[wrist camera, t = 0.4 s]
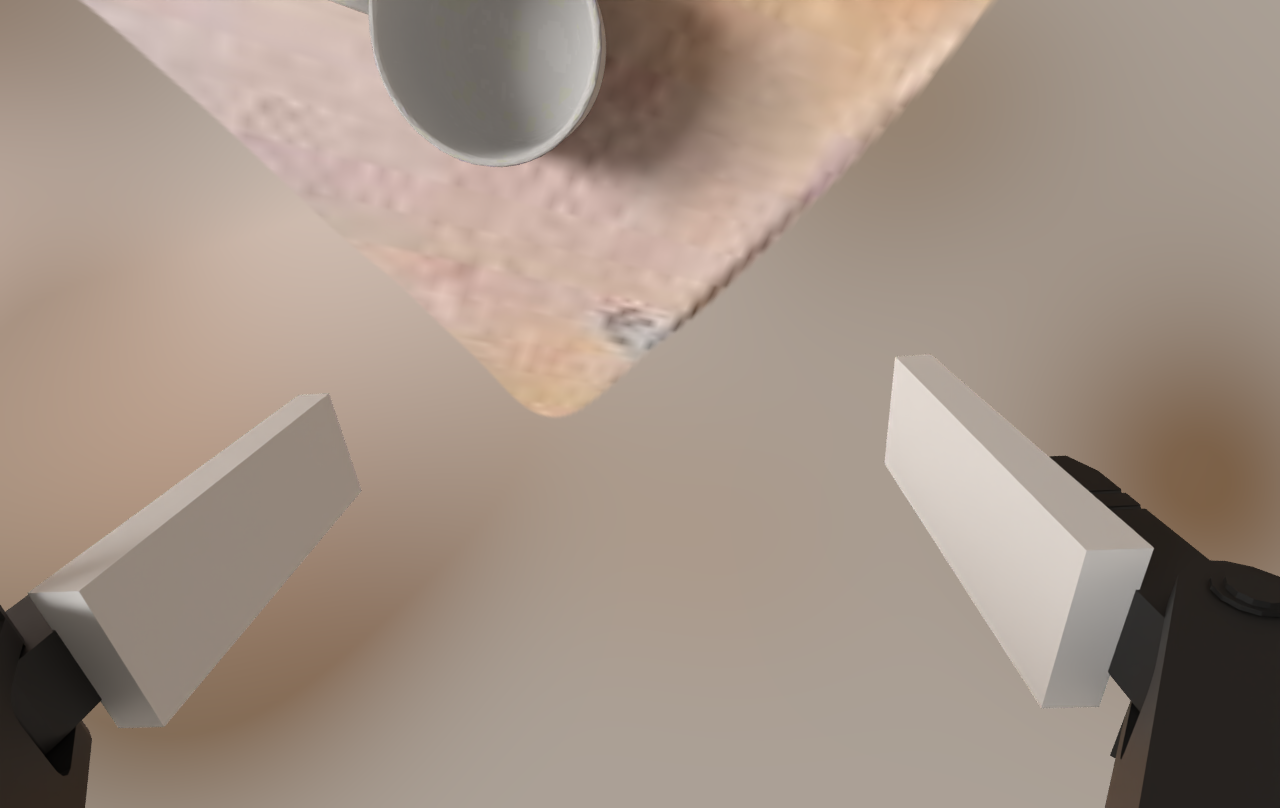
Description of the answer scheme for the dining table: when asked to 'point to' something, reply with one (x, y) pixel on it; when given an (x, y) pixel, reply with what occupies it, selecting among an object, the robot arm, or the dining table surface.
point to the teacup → (489, 71)
